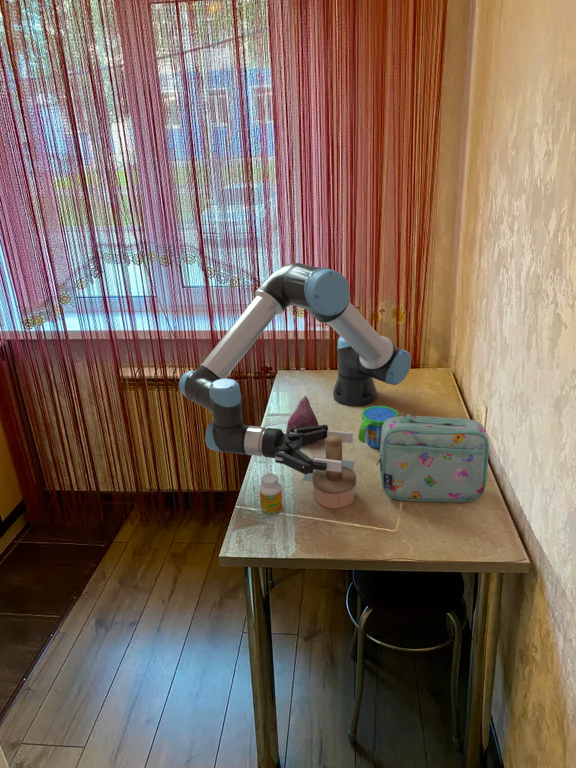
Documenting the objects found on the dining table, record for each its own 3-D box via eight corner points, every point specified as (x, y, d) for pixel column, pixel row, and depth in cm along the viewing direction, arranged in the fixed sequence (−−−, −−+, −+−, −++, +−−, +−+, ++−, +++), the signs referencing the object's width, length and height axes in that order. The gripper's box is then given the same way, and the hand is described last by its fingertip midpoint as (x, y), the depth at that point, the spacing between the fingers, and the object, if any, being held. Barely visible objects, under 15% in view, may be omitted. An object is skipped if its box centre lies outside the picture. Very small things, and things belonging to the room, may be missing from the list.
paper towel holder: (318, 466, 147) (317, 426, 142) (359, 471, 144) (360, 431, 139) (307, 490, 138) (306, 448, 133) (351, 496, 134) (351, 453, 129)
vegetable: (299, 437, 178) (298, 391, 176) (326, 442, 172) (326, 394, 170) (278, 444, 170) (278, 395, 167) (306, 449, 163) (306, 398, 161)
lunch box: (375, 502, 140) (377, 428, 131) (375, 479, 149) (376, 408, 140) (485, 507, 136) (495, 431, 127) (478, 483, 145) (487, 410, 137)
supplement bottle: (265, 519, 136) (263, 486, 132) (258, 507, 140) (255, 475, 136) (286, 513, 138) (284, 480, 134) (277, 501, 142) (275, 469, 138)
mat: (313, 457, 160) (313, 456, 160) (354, 462, 157) (354, 461, 157) (302, 481, 150) (302, 479, 150) (346, 487, 147) (346, 485, 146)
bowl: (320, 483, 149) (320, 467, 146) (357, 488, 146) (357, 472, 144) (310, 506, 140) (310, 489, 138) (350, 511, 137) (350, 495, 135)
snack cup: (386, 428, 174) (387, 399, 170) (410, 442, 166) (412, 412, 161) (347, 444, 166) (347, 414, 162) (370, 459, 158) (371, 428, 154)
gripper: (280, 431, 154) (356, 439, 148) (249, 481, 133) (336, 494, 127) (279, 407, 151) (356, 414, 145) (246, 454, 130) (335, 466, 124)
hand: (347, 451), depth 136 cm, fingers open, 13 cm apart
